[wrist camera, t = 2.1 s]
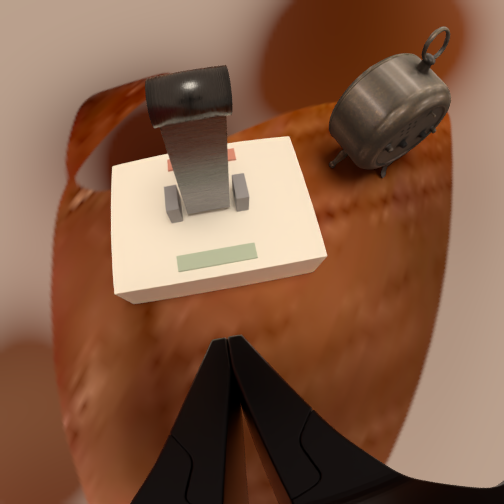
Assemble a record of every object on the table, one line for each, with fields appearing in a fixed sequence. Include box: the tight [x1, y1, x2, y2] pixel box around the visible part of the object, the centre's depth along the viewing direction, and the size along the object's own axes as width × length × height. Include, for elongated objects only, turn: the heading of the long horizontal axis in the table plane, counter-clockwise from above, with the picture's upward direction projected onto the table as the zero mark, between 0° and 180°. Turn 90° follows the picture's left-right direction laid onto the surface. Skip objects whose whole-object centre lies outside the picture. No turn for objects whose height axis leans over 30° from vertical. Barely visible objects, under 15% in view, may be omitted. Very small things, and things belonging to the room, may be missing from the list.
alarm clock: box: [329, 27, 451, 178], centre depth 19 cm, size 11×5×16 cm, turn 121°
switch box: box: [111, 136, 327, 304], centre depth 21 cm, size 10×14×6 cm
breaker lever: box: [145, 65, 232, 214], centre depth 15 cm, size 2×3×10 cm
